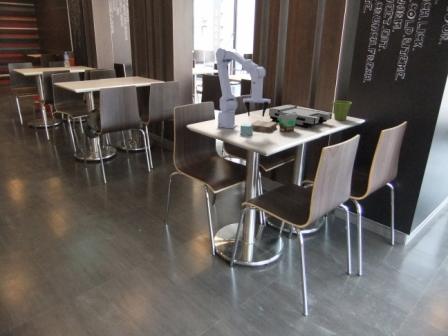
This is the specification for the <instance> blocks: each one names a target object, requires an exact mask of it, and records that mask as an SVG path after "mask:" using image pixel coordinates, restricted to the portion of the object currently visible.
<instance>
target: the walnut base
mask: <svg viewBox="0 0 448 336" xmlns="http://www.w3.org/2000/svg"><path fill="white" fill-rule="evenodd" d="M250 124H251V125H253V131H255V132H256V131H257V132H263V133H271V132H272V131H274V130H275V129H277V125H278V122H273V121H266V120H265V121H264V120H256V121H253V122H252V123H250Z"/></svg>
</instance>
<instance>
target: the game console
mask: <svg viewBox="0 0 448 336" xmlns="http://www.w3.org/2000/svg"><path fill="white" fill-rule="evenodd" d="M293 112H296V113H297V118H296V122H295V127H299V128H303V129H309V128H312V127H313V126H316V125H317V126H318V125H321V124H324V123H325V122H328V121H329V120H332V117H333V113H330V112H325V111H319V110H315V109H314V110H311V109H307V108H306V109H305V108H301V107H298V106H297V105H293V104H285V105H284V104H283V105H281V106H279V105H278V106H275V107H270V108H269V109H268V116H269V119H270V120H272V121H271V122H274V123H277V124H278V123H279V114H283V115H285V114H292V113H293Z"/></svg>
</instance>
